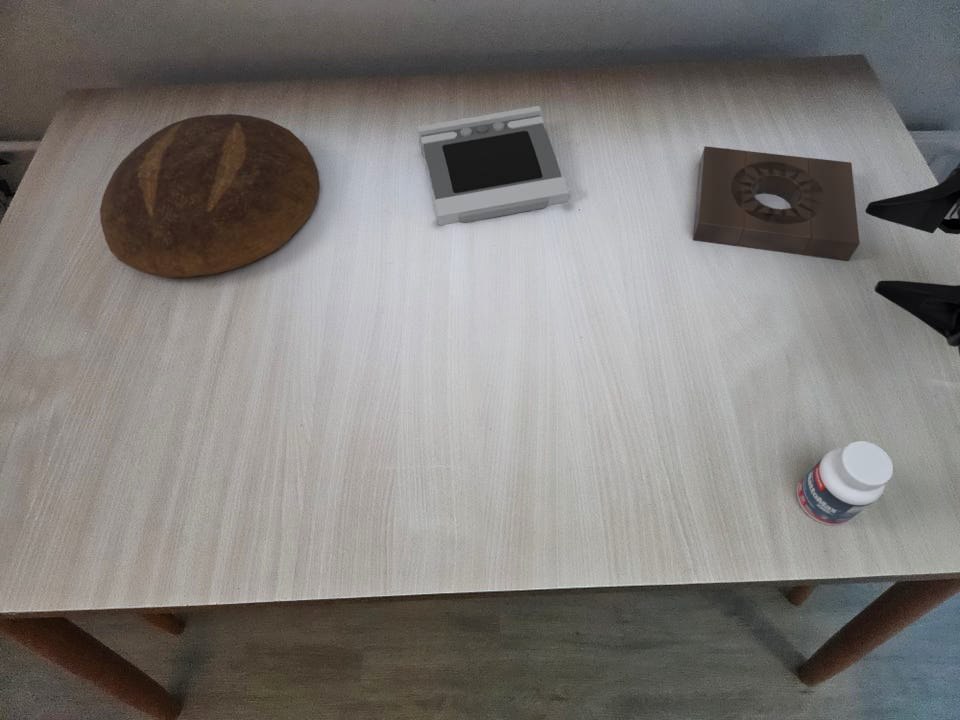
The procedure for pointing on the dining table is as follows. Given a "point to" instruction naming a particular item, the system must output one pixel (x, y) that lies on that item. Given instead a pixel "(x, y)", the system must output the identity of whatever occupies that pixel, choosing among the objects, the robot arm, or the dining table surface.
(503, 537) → the dining table surface
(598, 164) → the dining table surface
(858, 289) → the dining table surface
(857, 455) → the pill bottle
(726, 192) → the socket pad
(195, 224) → the bread
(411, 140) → the dining table surface
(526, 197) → the grey boxy piece
